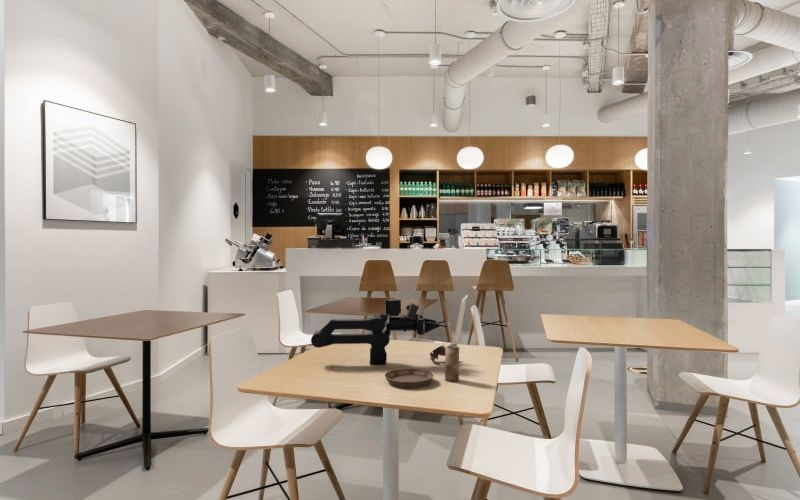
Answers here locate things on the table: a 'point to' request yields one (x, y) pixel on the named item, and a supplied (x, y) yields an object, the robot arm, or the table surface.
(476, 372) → the table surface
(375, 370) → the table surface
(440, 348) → the brown jagged crown
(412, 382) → the plant saucer
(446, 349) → the pepper mill
